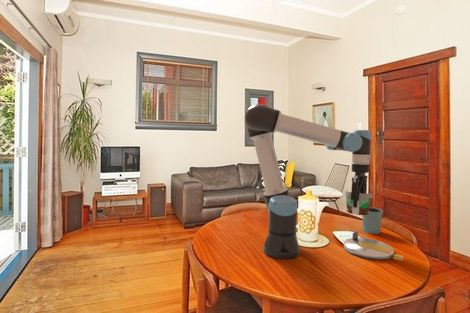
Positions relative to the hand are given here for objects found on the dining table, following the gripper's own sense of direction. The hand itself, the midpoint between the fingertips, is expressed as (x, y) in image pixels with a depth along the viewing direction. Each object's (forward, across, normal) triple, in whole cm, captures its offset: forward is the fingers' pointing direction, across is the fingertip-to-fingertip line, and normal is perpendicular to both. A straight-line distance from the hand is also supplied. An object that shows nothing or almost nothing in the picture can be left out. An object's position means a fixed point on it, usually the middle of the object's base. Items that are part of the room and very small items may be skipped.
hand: (358, 212), depth 134 cm
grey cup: (+15, +26, +1) cm, 30 cm away
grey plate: (+15, -4, -6) cm, 17 cm away
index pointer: (+15, -5, -19) cm, 24 cm away
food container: (+1, -1, 0) cm, 1 cm away
